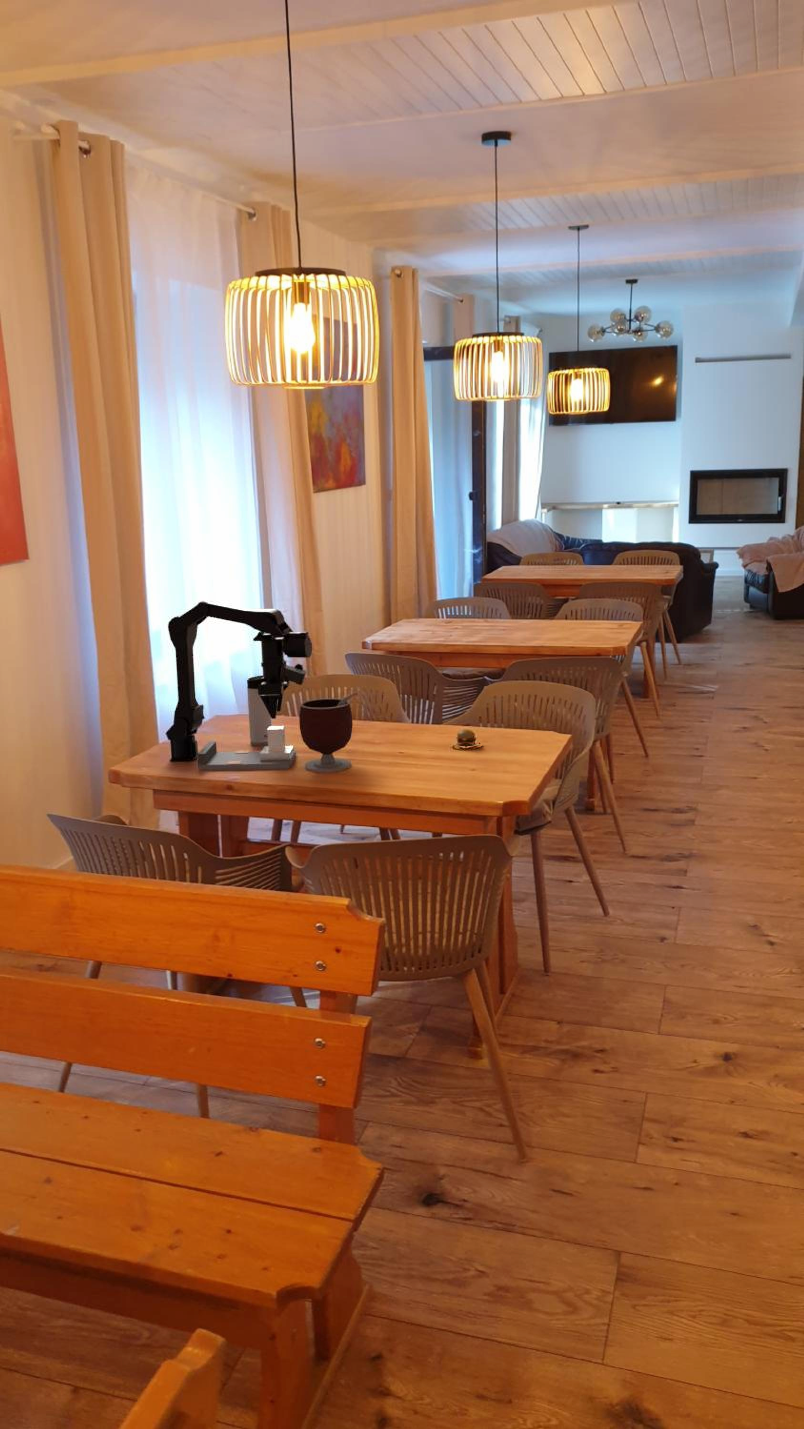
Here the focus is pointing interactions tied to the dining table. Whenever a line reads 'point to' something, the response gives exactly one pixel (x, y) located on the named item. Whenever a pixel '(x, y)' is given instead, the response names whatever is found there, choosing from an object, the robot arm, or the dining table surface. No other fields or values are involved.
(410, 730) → the dining table surface
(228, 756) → the slide board
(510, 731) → the dining table surface
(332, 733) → the mate gourd
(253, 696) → the travel mug
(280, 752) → the slider
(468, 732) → the hamburger
